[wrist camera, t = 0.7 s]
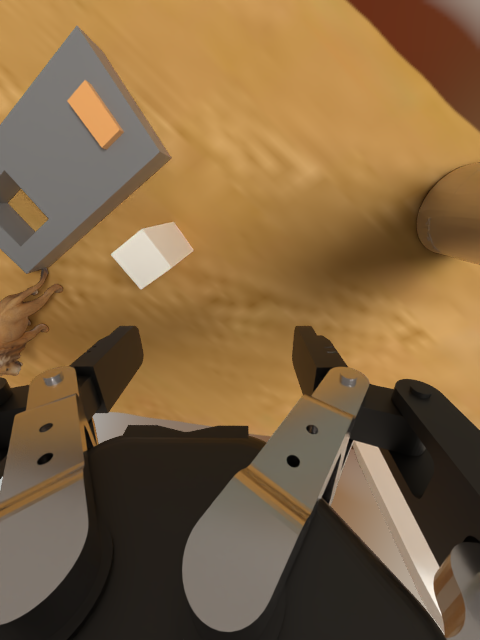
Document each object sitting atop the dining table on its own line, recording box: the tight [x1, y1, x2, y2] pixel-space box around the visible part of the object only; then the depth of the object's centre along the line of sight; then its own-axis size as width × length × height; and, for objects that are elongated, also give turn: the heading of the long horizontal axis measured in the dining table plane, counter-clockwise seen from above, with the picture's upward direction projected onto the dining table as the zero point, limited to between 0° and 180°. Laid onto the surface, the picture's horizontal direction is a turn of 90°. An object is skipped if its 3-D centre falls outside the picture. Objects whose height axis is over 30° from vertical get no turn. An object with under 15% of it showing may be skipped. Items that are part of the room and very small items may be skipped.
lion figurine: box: [0, 268, 63, 376], centre depth 31 cm, size 15×5×9 cm, turn 153°
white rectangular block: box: [111, 222, 194, 289], centre depth 25 cm, size 4×4×9 cm
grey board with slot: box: [0, 26, 171, 274], centre depth 25 cm, size 22×10×4 cm, turn 123°
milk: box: [353, 440, 445, 633], centre depth 31 cm, size 12×12×26 cm
